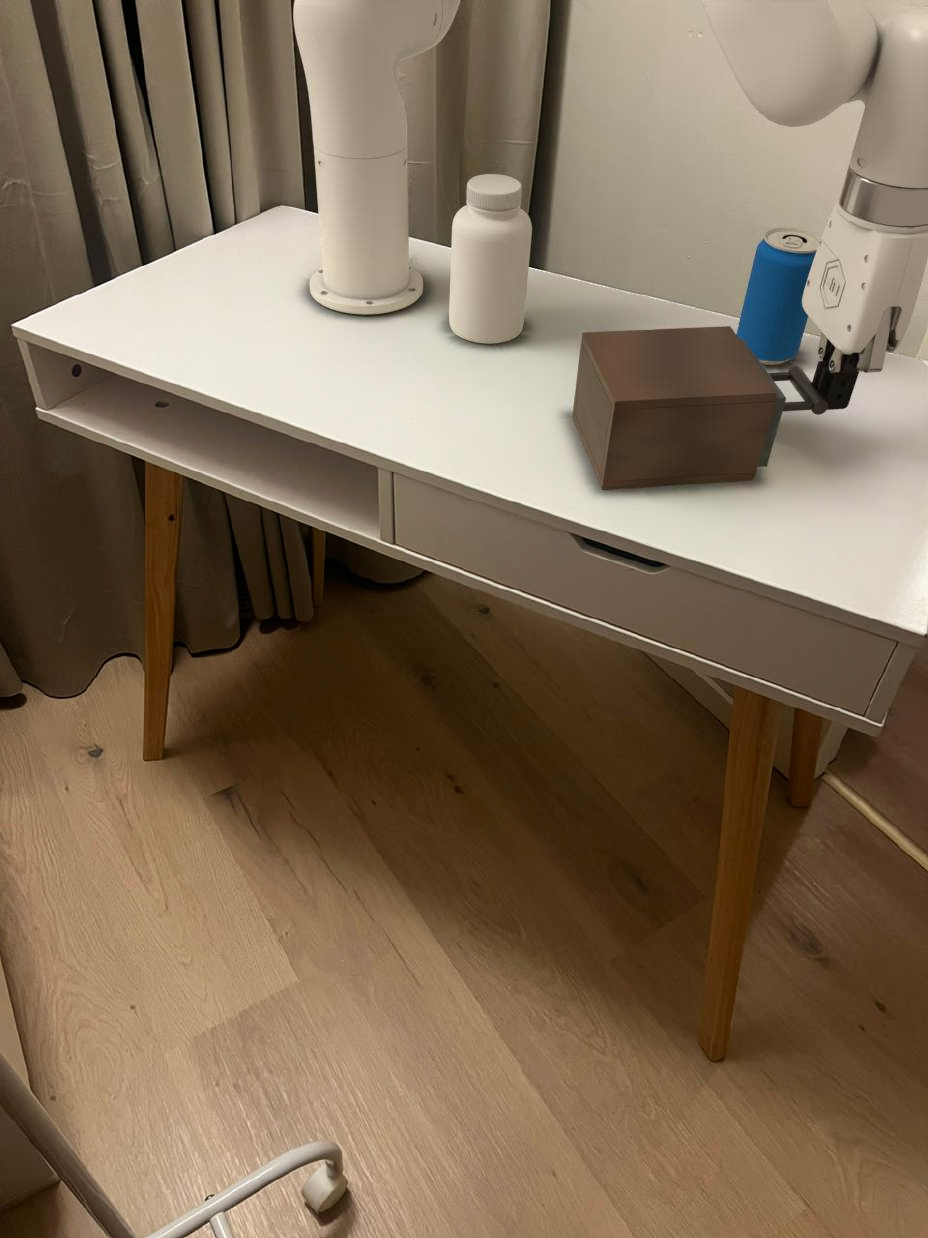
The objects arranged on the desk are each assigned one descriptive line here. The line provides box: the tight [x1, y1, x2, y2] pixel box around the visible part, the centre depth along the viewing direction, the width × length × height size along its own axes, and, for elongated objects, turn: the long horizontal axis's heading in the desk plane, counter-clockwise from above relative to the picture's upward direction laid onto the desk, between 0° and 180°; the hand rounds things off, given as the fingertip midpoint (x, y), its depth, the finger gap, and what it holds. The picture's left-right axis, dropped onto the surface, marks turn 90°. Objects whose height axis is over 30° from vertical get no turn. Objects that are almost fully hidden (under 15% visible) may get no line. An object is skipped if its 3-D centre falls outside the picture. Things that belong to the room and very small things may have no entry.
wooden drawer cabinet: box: [571, 325, 778, 490], centre depth 87 cm, size 14×12×9 cm
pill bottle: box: [448, 173, 533, 344], centre depth 100 cm, size 8×8×15 cm
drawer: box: [739, 338, 828, 468], centre depth 87 cm, size 18×10×7 cm, turn 98°
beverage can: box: [735, 226, 822, 366], centre depth 99 cm, size 6×6×12 cm
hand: (826, 404), depth 89 cm, fingers closed
